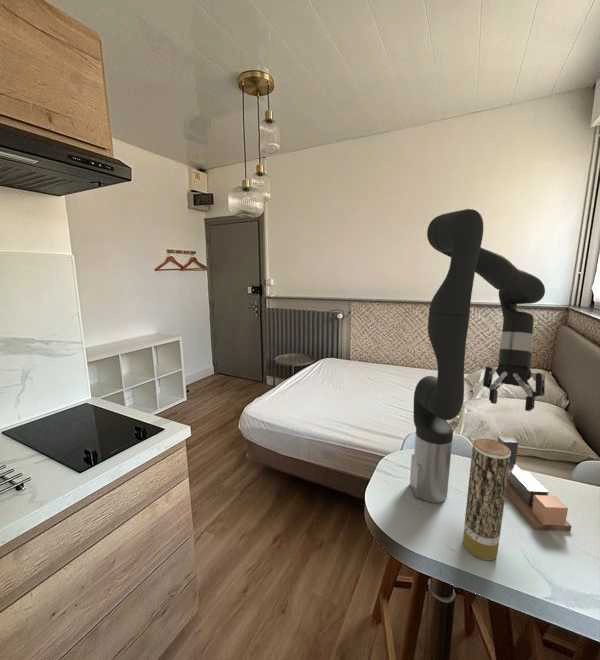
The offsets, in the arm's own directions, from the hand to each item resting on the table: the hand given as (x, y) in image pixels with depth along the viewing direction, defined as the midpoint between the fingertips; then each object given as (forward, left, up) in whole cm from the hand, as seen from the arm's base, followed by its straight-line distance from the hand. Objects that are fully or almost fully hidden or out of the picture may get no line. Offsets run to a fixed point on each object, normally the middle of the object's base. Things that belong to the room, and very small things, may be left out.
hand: (510, 407), depth 86 cm
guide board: (+3, -7, -24) cm, 25 cm away
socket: (+3, -15, -23) cm, 27 cm away
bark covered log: (-17, -23, -24) cm, 37 cm away
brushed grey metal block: (+3, -3, -22) cm, 23 cm away
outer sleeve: (+3, -7, -23) cm, 24 cm away
